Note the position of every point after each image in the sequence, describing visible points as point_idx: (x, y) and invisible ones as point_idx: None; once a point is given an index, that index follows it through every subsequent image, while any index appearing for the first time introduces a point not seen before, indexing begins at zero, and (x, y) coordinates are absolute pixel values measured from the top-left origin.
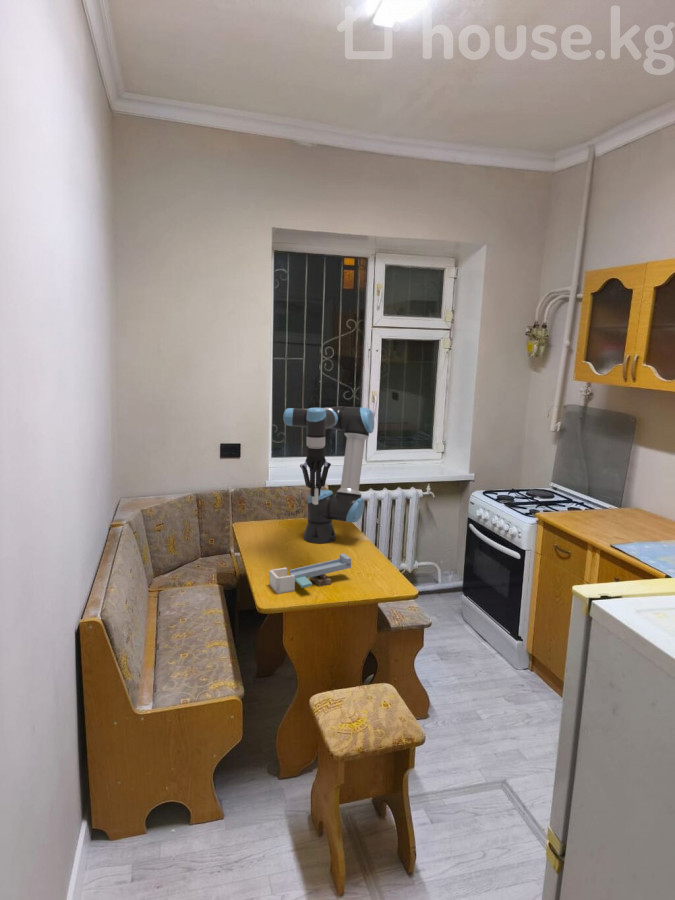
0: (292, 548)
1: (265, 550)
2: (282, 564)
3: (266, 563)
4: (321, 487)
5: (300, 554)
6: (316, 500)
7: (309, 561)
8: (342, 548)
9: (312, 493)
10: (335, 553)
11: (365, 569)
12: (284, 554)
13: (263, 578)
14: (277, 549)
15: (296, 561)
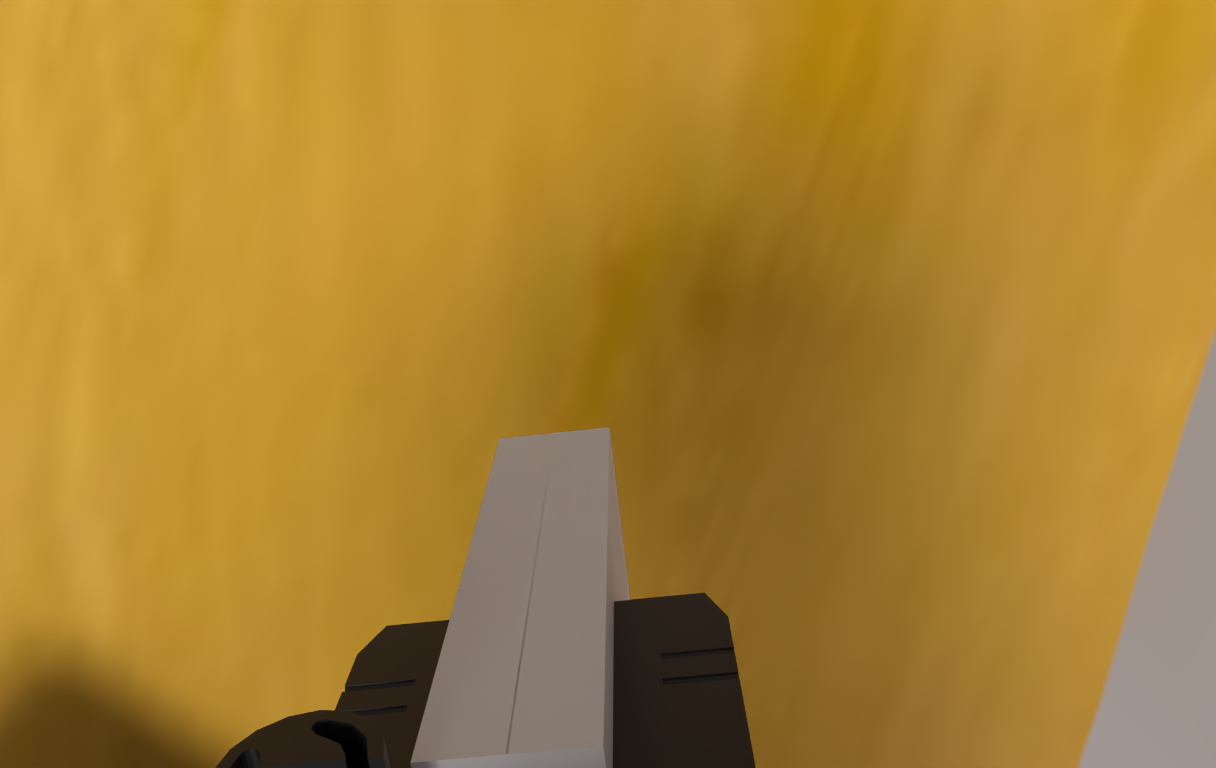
0: None
1: (907, 764)
2: (876, 398)
3: (1017, 467)
4: (223, 763)
5: None
6: (549, 484)
7: (587, 397)
8: (163, 622)
9: (697, 667)
10: (266, 521)
11: (51, 5)
12: (768, 630)
13: (1199, 95)
14: (791, 758)
15: (714, 433)
